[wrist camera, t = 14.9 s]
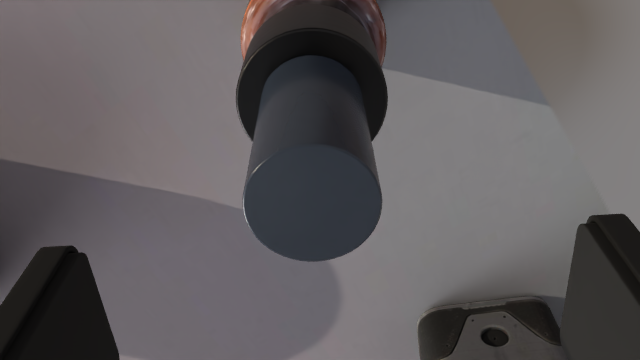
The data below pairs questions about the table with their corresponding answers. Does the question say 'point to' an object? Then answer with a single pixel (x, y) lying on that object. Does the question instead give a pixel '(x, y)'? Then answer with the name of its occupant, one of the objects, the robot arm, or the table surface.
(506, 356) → the electronic device
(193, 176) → the table surface
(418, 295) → the table surface
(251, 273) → the table surface
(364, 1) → the supplement bottle
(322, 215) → the torch
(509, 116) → the table surface
